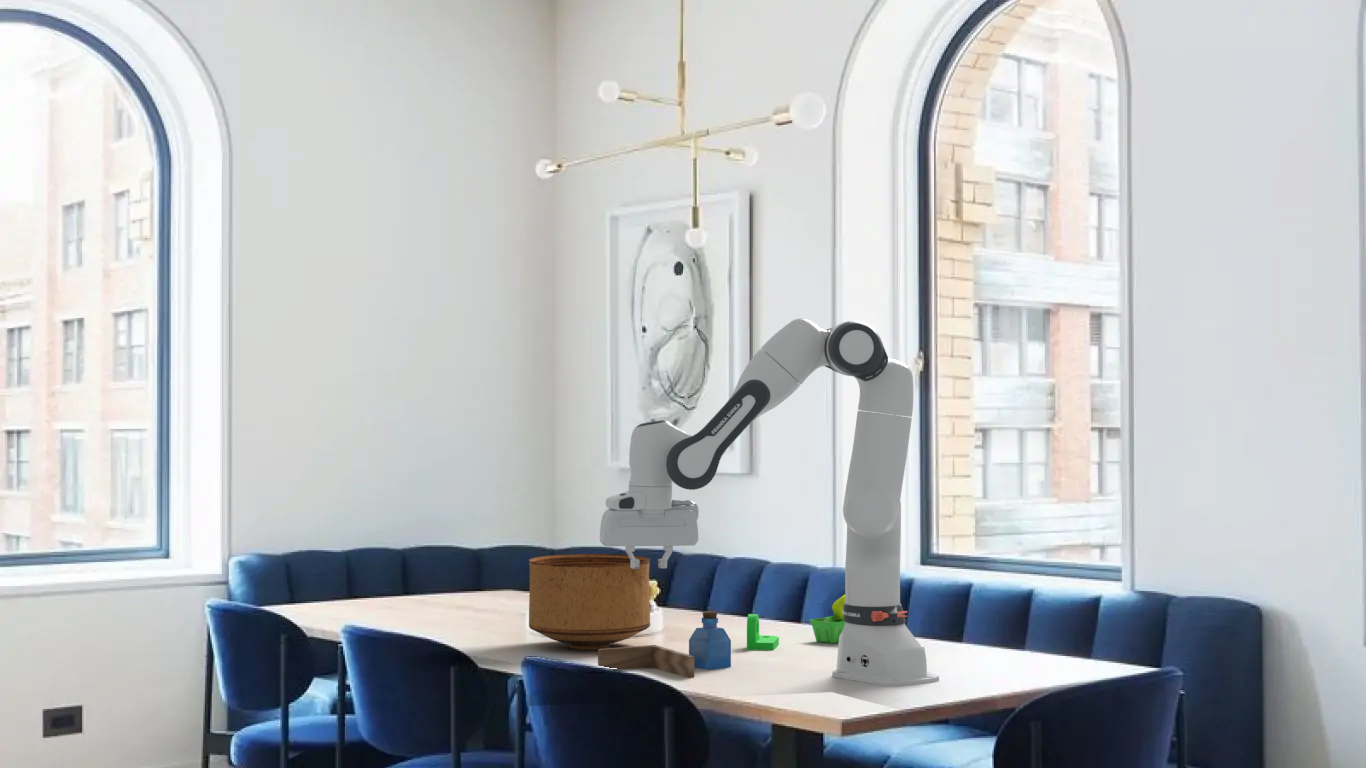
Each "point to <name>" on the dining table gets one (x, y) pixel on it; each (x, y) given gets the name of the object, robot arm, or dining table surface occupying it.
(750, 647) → the mechanical part
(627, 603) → the pot
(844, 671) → the robot arm
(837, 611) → the fruit basket
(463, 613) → the dining table surface
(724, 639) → the perfume bottle
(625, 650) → the l-shaped wooden board
